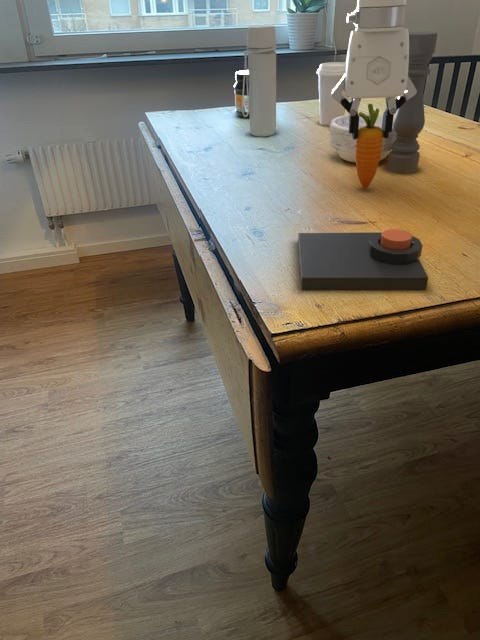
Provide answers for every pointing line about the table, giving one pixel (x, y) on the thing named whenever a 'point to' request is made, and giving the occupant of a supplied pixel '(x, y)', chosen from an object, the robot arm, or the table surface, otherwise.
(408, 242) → the button
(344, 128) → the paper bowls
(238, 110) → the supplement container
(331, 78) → the coffee cup
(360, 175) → the carrot
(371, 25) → the robot arm
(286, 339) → the table surface
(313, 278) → the black push button box
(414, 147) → the candle holder
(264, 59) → the water bottle
